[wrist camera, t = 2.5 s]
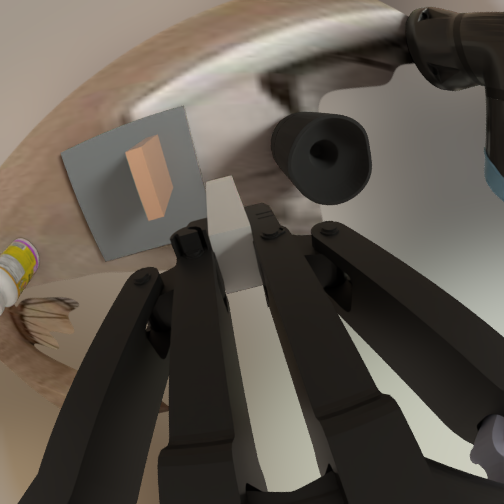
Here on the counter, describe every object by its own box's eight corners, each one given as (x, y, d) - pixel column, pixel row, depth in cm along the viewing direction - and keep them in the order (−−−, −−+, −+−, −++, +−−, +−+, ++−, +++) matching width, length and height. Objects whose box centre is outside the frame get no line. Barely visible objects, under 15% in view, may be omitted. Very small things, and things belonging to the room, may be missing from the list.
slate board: (183, 105, 29) (183, 105, 28) (215, 227, 38) (216, 231, 37) (64, 151, 28) (60, 152, 27) (107, 257, 37) (105, 261, 36)
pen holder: (255, 161, 34) (273, 185, 26) (285, 96, 30) (315, 97, 22) (316, 187, 37) (348, 217, 29) (345, 129, 33) (388, 142, 25)
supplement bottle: (27, 276, 36) (-4, 326, 25) (6, 246, 32) (-32, 293, 22) (47, 261, 36) (13, 315, 25) (25, 229, 32) (-17, 277, 21)
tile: (157, 134, 29) (141, 146, 21) (173, 187, 33) (164, 216, 25) (144, 138, 29) (123, 152, 21) (160, 191, 33) (147, 221, 25)
